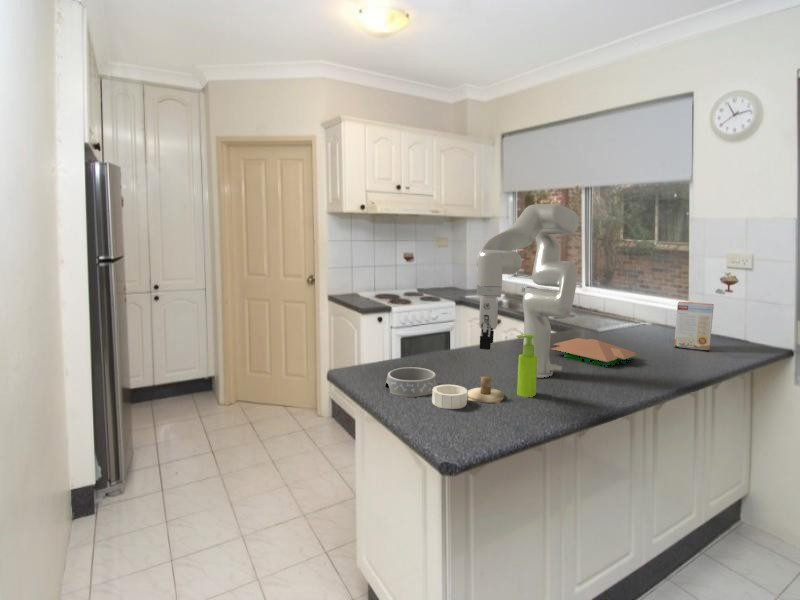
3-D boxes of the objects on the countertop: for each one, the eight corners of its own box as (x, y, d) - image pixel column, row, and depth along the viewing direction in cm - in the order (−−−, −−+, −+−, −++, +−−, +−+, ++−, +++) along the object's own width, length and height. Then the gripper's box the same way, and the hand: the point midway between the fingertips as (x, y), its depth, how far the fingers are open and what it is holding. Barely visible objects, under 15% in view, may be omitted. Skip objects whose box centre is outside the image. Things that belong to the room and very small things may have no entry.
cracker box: (709, 349, 232) (714, 303, 229) (709, 352, 227) (714, 305, 224) (674, 345, 239) (678, 300, 236) (673, 347, 234) (677, 302, 231)
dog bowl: (394, 400, 162) (394, 383, 161) (380, 382, 179) (380, 367, 178) (445, 395, 166) (445, 379, 166) (426, 379, 184) (426, 364, 183)
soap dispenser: (511, 392, 169) (514, 333, 166) (532, 392, 169) (535, 332, 166) (517, 398, 163) (519, 337, 160) (538, 398, 164) (541, 336, 161)
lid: (504, 392, 167) (505, 374, 167) (502, 404, 157) (502, 384, 156) (470, 389, 170) (470, 371, 169) (465, 400, 160) (466, 381, 159)
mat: (502, 394, 167) (502, 393, 167) (500, 404, 158) (500, 403, 157) (471, 391, 170) (471, 390, 170) (467, 401, 160) (467, 400, 160)
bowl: (468, 400, 161) (469, 386, 161) (463, 411, 151) (464, 396, 151) (436, 396, 164) (436, 383, 163) (429, 408, 154) (429, 393, 153)
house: (613, 371, 196) (615, 350, 195) (541, 354, 222) (542, 335, 221) (643, 362, 210) (644, 342, 209) (572, 346, 236) (573, 329, 235)
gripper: (499, 295, 149) (496, 352, 151) (503, 289, 166) (500, 341, 168) (473, 293, 151) (470, 350, 153) (480, 288, 168) (477, 339, 170)
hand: (486, 345), depth 161 cm, fingers open, 9 cm apart
